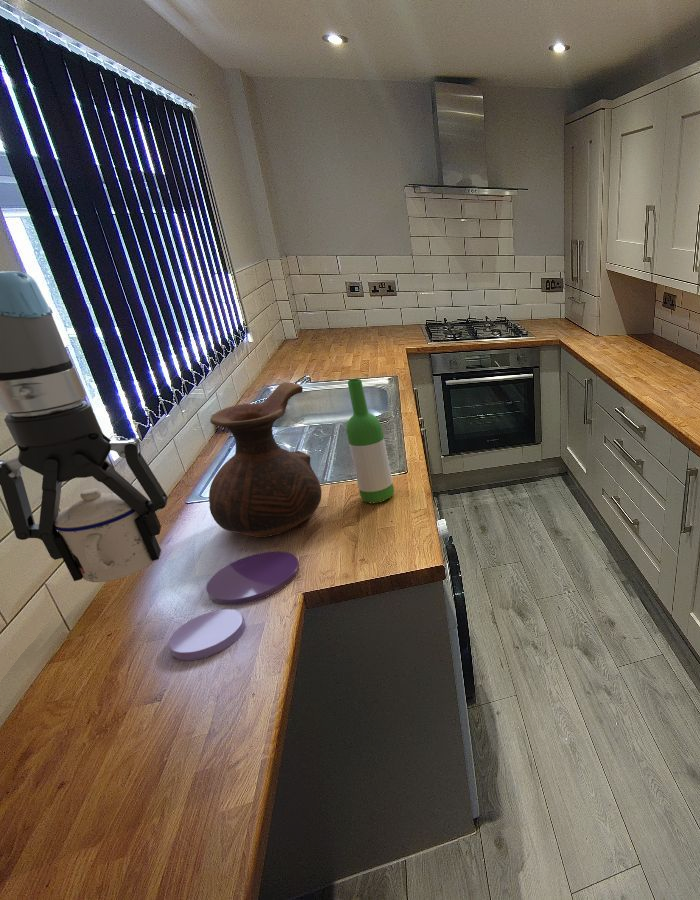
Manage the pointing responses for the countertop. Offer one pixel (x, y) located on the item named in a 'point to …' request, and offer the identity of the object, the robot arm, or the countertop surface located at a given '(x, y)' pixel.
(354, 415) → the wine bottle
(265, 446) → the jug
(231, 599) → the saucer
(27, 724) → the countertop surface
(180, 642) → the lilac dish
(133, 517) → the teacup with lid
